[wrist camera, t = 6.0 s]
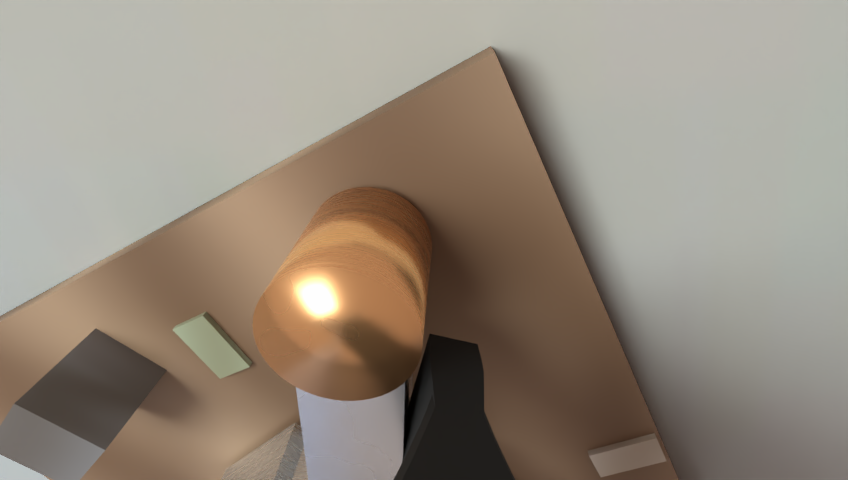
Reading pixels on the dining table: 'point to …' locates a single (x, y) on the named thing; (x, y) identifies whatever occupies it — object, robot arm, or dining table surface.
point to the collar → (345, 339)
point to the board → (259, 262)
